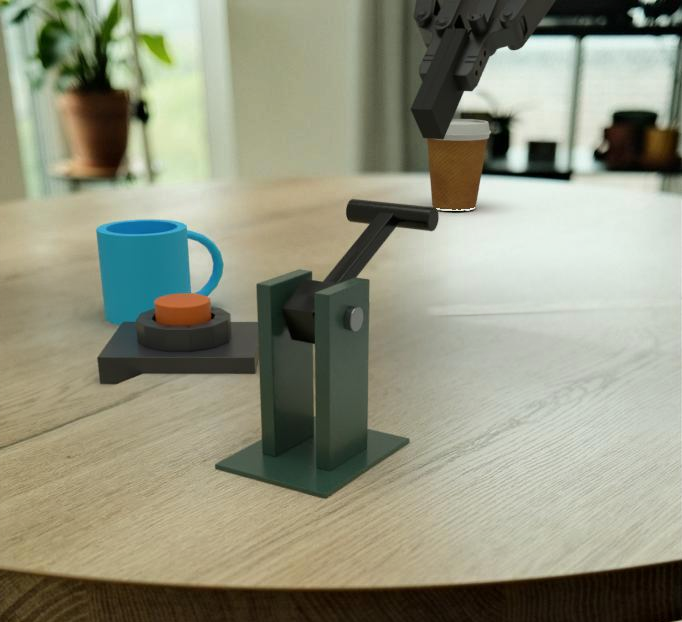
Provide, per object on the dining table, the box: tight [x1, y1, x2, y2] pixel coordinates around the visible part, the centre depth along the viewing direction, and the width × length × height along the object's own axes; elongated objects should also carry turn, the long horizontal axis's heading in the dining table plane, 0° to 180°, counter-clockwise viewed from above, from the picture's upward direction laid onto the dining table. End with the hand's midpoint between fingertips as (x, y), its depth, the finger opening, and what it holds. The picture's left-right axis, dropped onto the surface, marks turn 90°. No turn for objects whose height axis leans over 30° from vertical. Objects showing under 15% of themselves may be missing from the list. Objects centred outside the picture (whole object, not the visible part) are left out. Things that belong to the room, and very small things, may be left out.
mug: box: [95, 218, 224, 326], centre depth 95 cm, size 12×8×8 cm
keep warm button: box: [154, 292, 212, 325], centre depth 81 cm, size 4×4×2 cm
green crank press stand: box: [214, 268, 410, 499], centre depth 61 cm, size 10×8×12 cm
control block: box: [96, 306, 259, 385], centre depth 82 cm, size 12×10×4 cm
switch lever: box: [281, 198, 440, 345], centre depth 62 cm, size 12×6×2 cm, turn 148°
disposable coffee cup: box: [426, 118, 492, 210], centre depth 147 cm, size 10×10×12 cm
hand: (427, 124), depth 66 cm, fingers closed
